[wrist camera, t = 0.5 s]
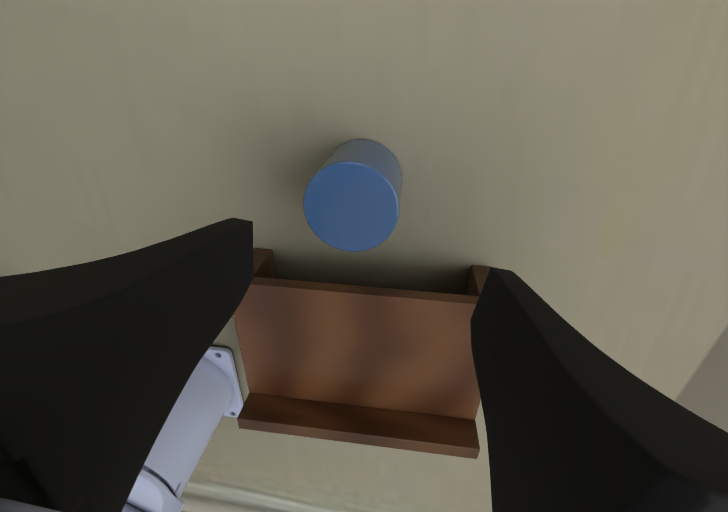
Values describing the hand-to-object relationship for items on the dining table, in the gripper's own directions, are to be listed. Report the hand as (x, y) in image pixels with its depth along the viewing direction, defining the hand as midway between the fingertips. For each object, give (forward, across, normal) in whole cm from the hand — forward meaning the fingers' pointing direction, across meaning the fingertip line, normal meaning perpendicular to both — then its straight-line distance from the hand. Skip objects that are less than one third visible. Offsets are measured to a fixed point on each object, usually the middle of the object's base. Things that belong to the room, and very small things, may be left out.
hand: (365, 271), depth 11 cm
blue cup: (+10, +1, +1) cm, 10 cm away
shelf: (+10, 0, +11) cm, 15 cm away
